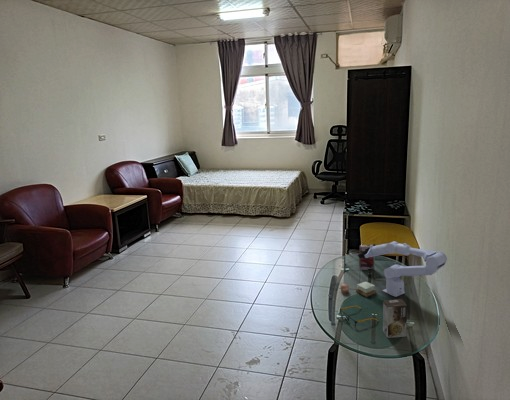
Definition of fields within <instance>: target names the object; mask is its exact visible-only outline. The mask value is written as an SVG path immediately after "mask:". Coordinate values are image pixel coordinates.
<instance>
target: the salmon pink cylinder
mask: <svg viewBox="0 0 510 400" xmlns="http://www.w3.org/2000/svg"><path fill="white" fill-rule="evenodd" d="M349 286H350V285H349V284H347V283H342V284H340V292H341V294H348V293H349V292H350V291H349Z"/></svg>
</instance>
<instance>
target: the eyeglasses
mask: <svg viewBox="0 0 510 400" xmlns="http://www.w3.org/2000/svg"><path fill="white" fill-rule="evenodd" d="M353 307H354V308H355V307H357V308H359V309H360V308H362V307H360V306H359V305H352V306H351V305H350V306H347V307H342V308H340V309H339V311H340V314H342V313H343V315H345V319H346V318H347V319H346V320H347V321H349V322H350V320H352V321H353V322H354V326H355V327H356V326H357V324H358V323H362V322H366V321H370V320H376V321H377V322H379V320H378V319H377V318H375V317H371V318H365V319H361V320H357V321H356V320H355V319H353V318H352V317H350V316H348V315H347V313H345V311H343V310H346V309H349V308H350V309H351V308H353Z"/></svg>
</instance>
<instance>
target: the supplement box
mask: <svg viewBox="0 0 510 400" xmlns="http://www.w3.org/2000/svg"><path fill="white" fill-rule="evenodd" d="M370 245H371V244H368V245H367V244H366V245H361V244H360V245H359V248H358V249H359V253H358V254H360V253H363V252H364V251H365V250H366V249H367V248H369V247H370ZM358 258H359V257H358ZM374 259H375V256H374V257H369V260H366V259H364V258H359V259H358V260H359V261H358V263H359V264H358V268H359V267H360V268H359V269H360V271H369V270H368V269H373V270H374V269H375V267H374V263H375V262H374Z"/></svg>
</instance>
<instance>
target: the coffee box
mask: <svg viewBox="0 0 510 400" xmlns="http://www.w3.org/2000/svg"><path fill="white" fill-rule="evenodd" d="M382 302H383V303H382V332H383V333H384V335H385V336H386V338H387V339H392V338H403V337H407V329H408V328H407V326H408V325H407V324H408V323H407V322H408V319H407V318H408V308H407V307H408V305H407V304H406V303H405V301H404V300H403V299H402V298H395V299H388V300H387V299H386V300H383V301H382Z"/></svg>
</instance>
